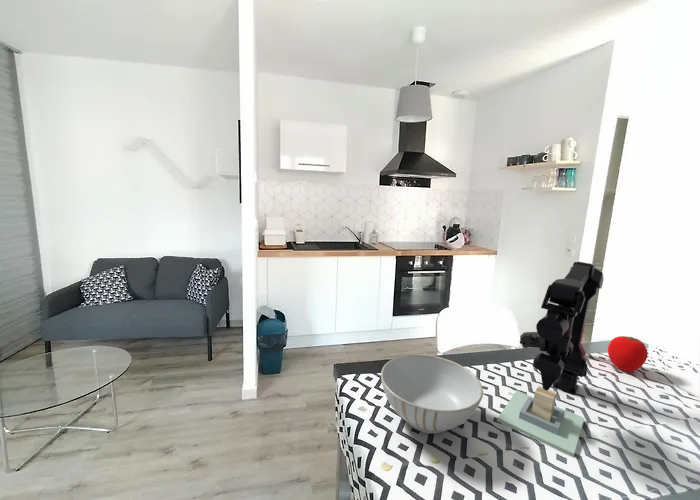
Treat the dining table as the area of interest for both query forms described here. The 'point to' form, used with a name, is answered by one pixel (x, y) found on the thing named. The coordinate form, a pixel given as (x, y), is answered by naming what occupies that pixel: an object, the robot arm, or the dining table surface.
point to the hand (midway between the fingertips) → (549, 382)
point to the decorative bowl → (431, 391)
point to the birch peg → (544, 403)
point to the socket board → (543, 423)
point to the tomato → (627, 353)
